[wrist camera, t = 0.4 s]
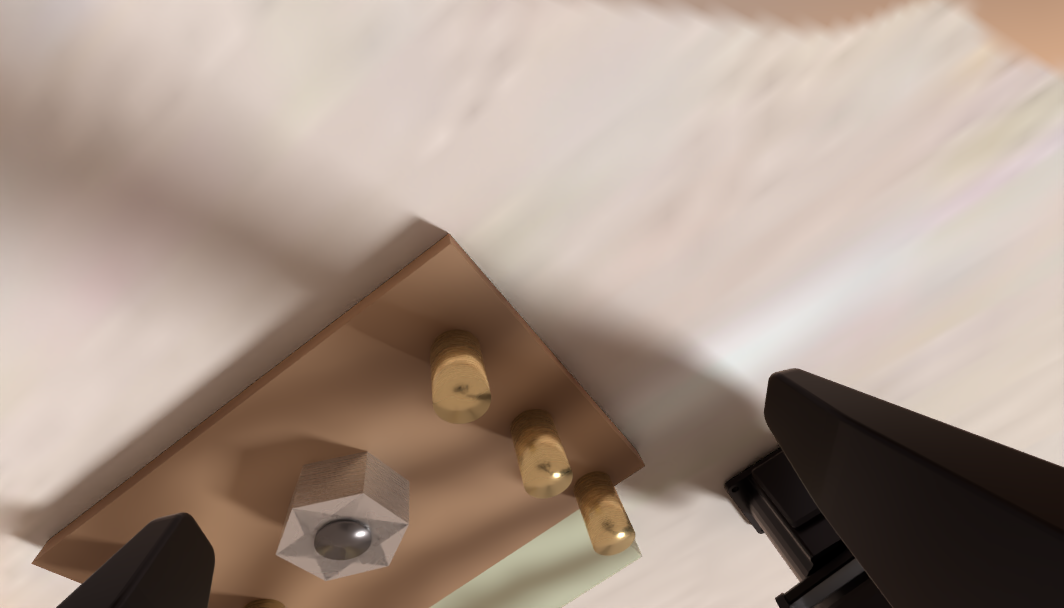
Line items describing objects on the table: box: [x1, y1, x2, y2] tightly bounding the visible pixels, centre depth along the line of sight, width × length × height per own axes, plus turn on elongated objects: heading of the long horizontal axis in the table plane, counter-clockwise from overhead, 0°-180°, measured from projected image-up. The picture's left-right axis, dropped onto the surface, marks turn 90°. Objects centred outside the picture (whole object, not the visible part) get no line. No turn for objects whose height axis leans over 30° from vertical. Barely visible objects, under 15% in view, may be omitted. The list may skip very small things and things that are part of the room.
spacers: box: [243, 329, 635, 608], centre depth 24 cm, size 14×20×4 cm
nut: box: [276, 451, 409, 581], centre depth 23 cm, size 6×5×3 cm
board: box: [31, 234, 645, 608], centre depth 27 cm, size 24×24×1 cm
